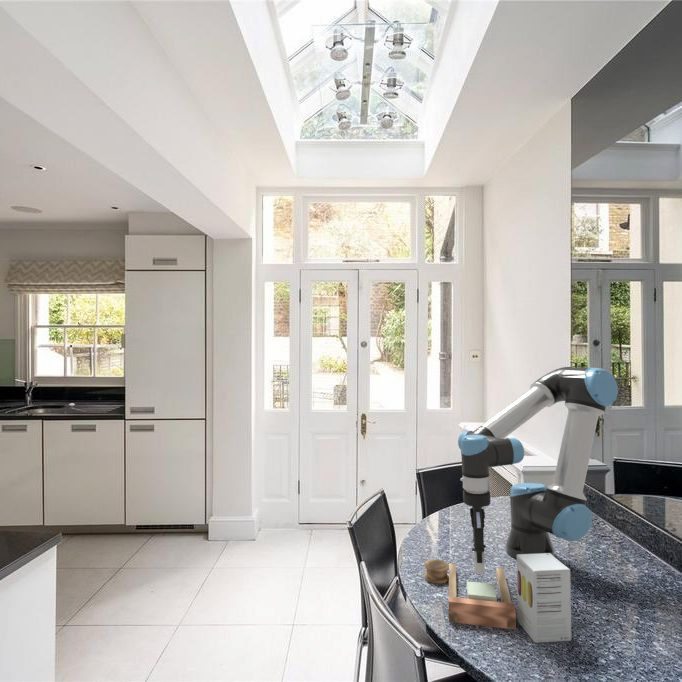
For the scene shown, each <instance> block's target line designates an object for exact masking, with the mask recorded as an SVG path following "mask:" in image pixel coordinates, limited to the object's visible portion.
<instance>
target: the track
mask: <svg viewBox="0 0 682 682" xmlns="http://www.w3.org/2000/svg"><path fill="white" fill-rule="evenodd" d="M456 564H457V563H448V565H449V569H448V576H449V580H448V622H450V623H456V624H463V625H466V624H467V625H473V626H483V627H490V628H500V629H506V630H507V629H509V630H517V625H516V624H517V622H516V621H517V619H516V618H517V615H516V614H517V612H516V610H517V609H516V605H515V603H512V598H511V594H510V590H509V587H508V583H507V578H506V574H505V569H504V567H496V569H495V571H496V574H495V575H496V581H497V586H498V590H499V596H500V600H501V601H496V602H495V601H485V600H476V599H467V597H466V598H465V597H464V598H463V597H457V569H456V568H457V567H456V566H457V565H456Z"/></svg>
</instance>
